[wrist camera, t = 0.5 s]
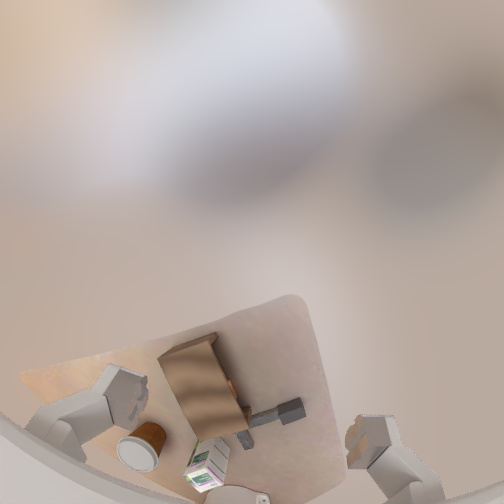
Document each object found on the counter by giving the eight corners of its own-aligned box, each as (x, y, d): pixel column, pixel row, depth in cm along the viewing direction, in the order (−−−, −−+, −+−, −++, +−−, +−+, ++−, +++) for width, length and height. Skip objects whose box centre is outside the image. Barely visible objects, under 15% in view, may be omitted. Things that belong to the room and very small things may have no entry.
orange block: (237, 394, 58) (235, 401, 54) (220, 399, 58) (217, 407, 54) (229, 378, 59) (227, 385, 55) (212, 384, 59) (209, 391, 55)
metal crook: (310, 423, 57) (313, 433, 52) (245, 444, 57) (244, 456, 52) (299, 397, 57) (301, 406, 52) (232, 420, 58) (230, 430, 53)
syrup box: (216, 432, 58) (204, 466, 43) (231, 449, 57) (223, 486, 43) (196, 441, 58) (181, 475, 43) (212, 458, 57) (200, 494, 43)
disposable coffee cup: (146, 450, 58) (128, 475, 46) (129, 419, 59) (107, 441, 47) (179, 445, 58) (164, 472, 46) (161, 413, 58) (142, 436, 47)
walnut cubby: (251, 409, 58) (249, 428, 49) (207, 422, 58) (199, 441, 49) (216, 331, 59) (207, 341, 51) (171, 347, 60) (157, 358, 51)
